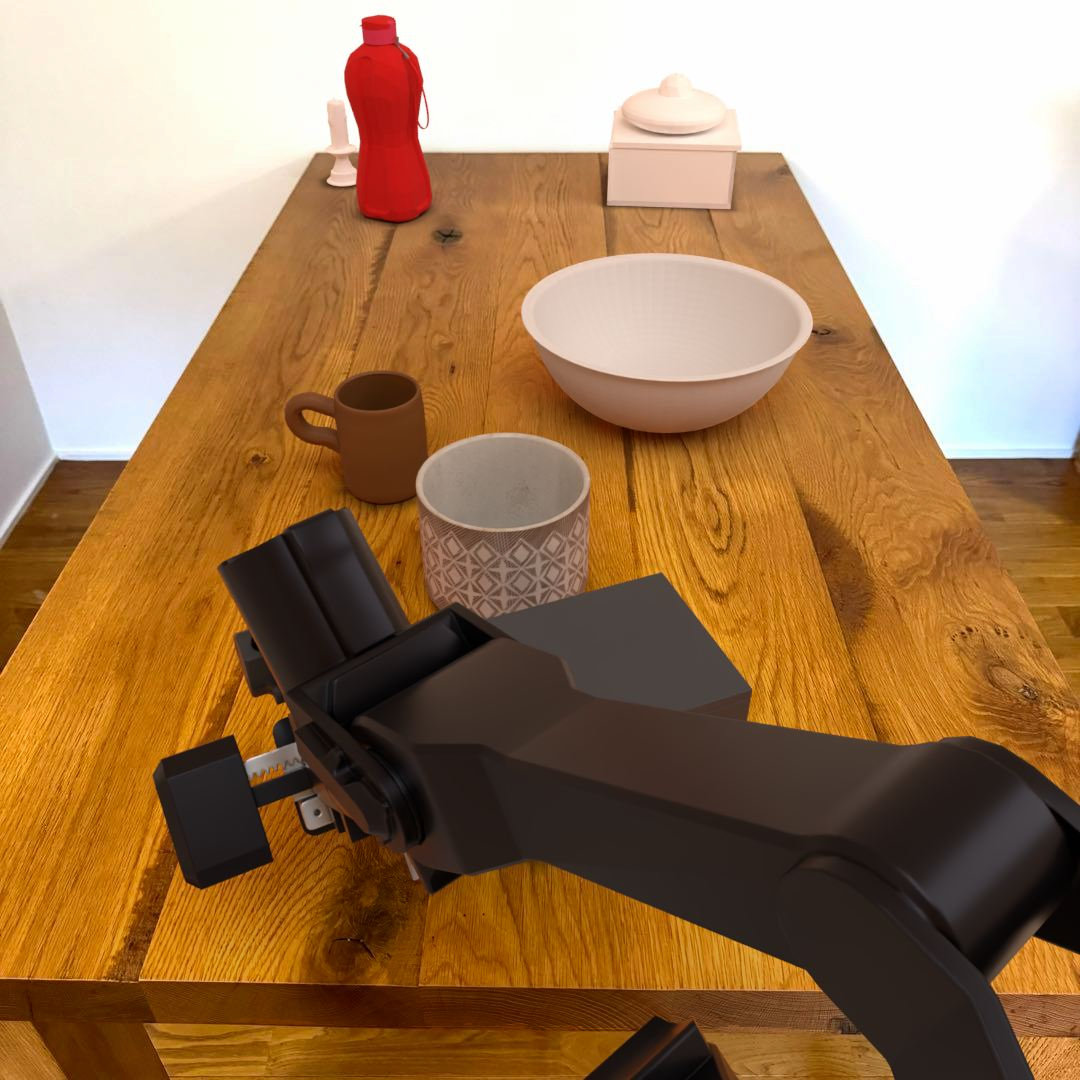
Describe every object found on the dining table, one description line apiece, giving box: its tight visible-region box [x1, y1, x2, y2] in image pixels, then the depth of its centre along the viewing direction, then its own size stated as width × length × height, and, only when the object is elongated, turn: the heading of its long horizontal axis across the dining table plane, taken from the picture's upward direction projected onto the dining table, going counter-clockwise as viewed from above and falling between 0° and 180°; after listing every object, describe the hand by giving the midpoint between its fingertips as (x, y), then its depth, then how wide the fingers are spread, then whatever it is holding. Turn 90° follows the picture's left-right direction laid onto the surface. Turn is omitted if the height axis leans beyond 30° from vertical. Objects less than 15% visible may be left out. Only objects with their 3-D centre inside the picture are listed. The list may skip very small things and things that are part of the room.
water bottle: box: [343, 14, 433, 223], centre depth 138 cm, size 9×11×25 cm
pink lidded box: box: [606, 72, 743, 210], centre depth 149 cm, size 18×18×16 cm
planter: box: [416, 432, 591, 619], centre depth 79 cm, size 13×13×10 cm
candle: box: [324, 97, 358, 188], centre depth 153 cm, size 5×5×12 cm
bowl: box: [520, 252, 814, 434], centre depth 101 cm, size 27×27×10 cm
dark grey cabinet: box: [485, 571, 753, 721], centre depth 66 cm, size 14×12×9 cm
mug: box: [284, 369, 429, 505], centre depth 90 cm, size 12×8×9 cm, turn 90°
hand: (339, 752), depth 59 cm, fingers closed
